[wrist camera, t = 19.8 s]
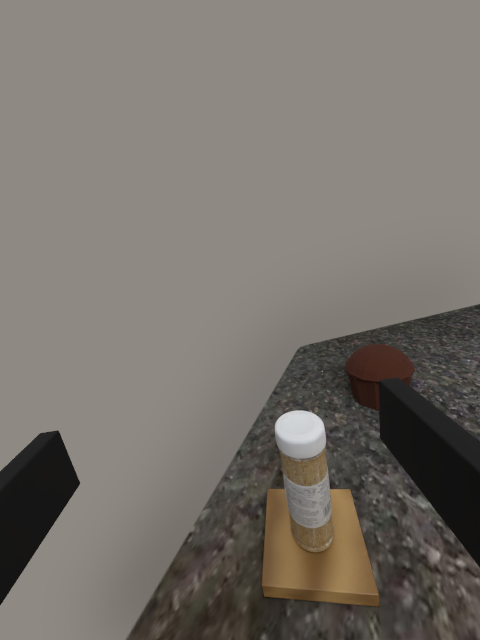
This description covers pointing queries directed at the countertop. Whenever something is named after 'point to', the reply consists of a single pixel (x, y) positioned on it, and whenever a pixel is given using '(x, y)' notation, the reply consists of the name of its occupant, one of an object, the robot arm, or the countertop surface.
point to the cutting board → (317, 557)
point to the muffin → (376, 371)
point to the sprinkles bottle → (306, 478)
